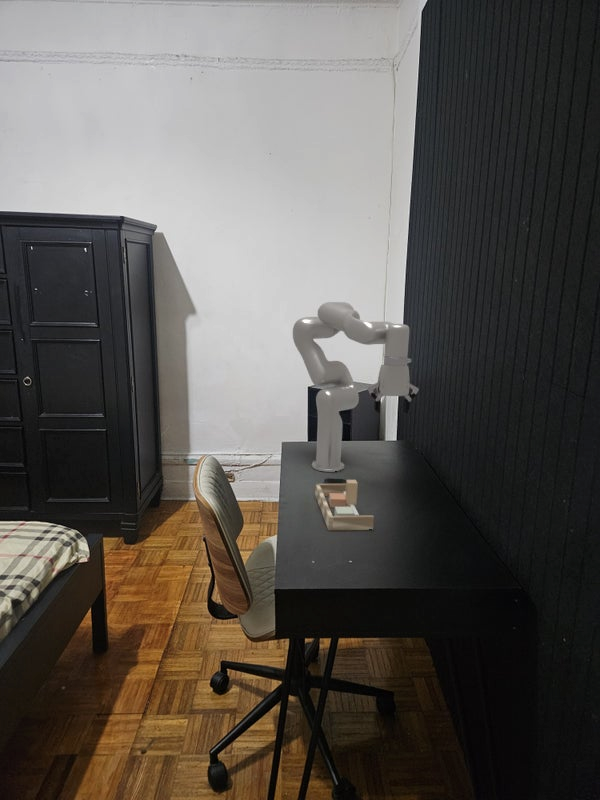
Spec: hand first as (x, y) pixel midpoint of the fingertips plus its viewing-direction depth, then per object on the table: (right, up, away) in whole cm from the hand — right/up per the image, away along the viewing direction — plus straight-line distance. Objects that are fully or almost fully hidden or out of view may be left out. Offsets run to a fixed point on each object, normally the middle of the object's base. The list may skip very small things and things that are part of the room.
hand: (391, 412), depth 180 cm
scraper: (-15, -31, -11) cm, 36 cm away
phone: (-18, -27, +7) cm, 34 cm away
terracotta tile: (-19, -30, -7) cm, 36 cm away
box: (-17, -31, -12) cm, 37 cm away
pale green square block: (-17, -32, -17) cm, 40 cm away
